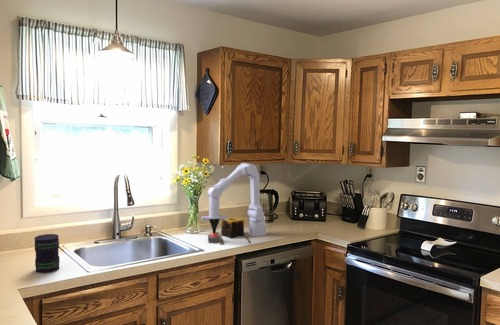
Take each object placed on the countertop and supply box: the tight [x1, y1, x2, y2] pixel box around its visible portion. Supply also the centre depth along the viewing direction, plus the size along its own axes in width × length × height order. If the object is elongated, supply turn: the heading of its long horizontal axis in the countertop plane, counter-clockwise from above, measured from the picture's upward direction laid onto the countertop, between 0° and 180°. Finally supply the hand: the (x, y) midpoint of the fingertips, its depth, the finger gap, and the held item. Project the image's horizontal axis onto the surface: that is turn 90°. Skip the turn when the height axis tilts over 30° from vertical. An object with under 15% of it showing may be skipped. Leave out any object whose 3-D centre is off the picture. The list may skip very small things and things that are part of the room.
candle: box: [220, 216, 245, 239], centre depth 248 cm, size 10×10×10 cm
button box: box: [207, 234, 222, 244], centre depth 236 cm, size 7×7×3 cm
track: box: [216, 232, 252, 246], centre depth 243 cm, size 17×25×1 cm
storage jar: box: [34, 233, 60, 274], centre depth 186 cm, size 10×10×15 cm
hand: (214, 232), depth 235 cm, fingers closed, pressing on dome
